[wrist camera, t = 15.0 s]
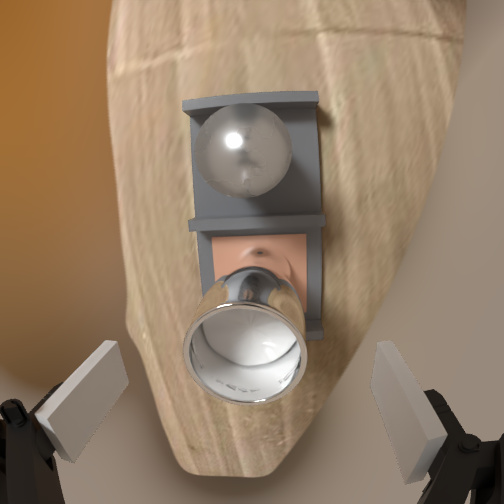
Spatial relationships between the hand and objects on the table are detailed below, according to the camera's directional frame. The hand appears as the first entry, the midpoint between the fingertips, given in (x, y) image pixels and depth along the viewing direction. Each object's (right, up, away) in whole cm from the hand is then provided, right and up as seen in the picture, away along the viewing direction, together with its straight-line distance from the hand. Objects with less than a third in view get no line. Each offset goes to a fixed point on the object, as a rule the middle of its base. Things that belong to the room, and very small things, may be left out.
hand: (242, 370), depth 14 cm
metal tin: (+1, +14, +14) cm, 20 cm away
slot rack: (+1, +9, +15) cm, 18 cm away
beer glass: (+1, +3, +16) cm, 16 cm away
